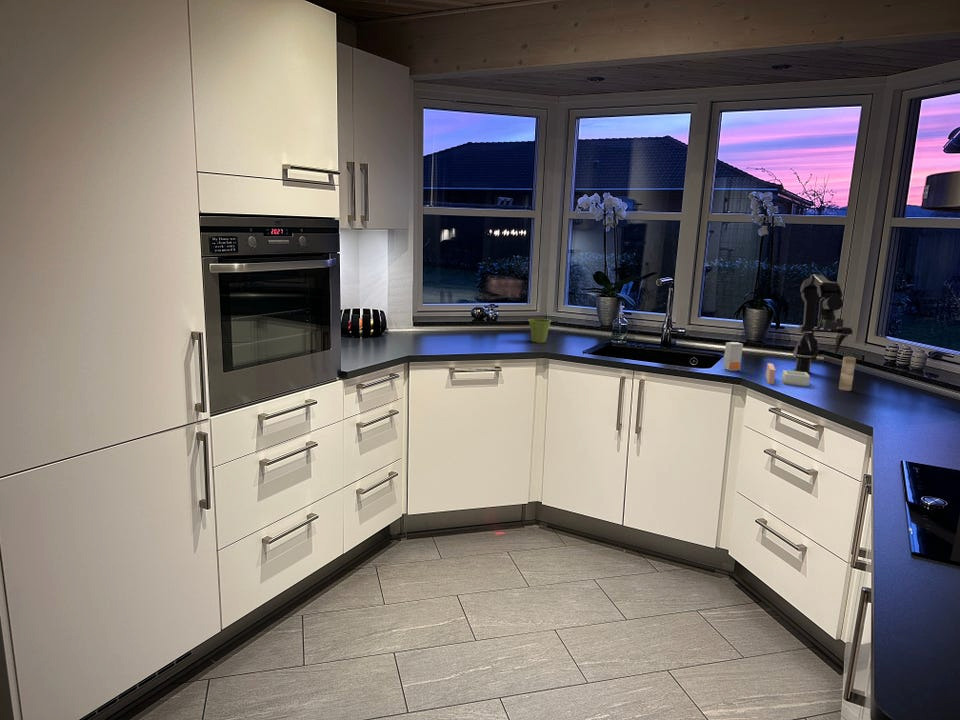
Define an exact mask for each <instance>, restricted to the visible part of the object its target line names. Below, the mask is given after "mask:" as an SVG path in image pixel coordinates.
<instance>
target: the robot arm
mask: <svg viewBox="0 0 960 720" xmlns="http://www.w3.org/2000/svg"><path fill="white" fill-rule="evenodd" d="M799 290H800V293H801V294H800V295H801V296H800V297H801V299H802V301H803V303H804V310H803V321H802V322H803V323H802V324H801V325H800V326H799V327H798V333H801V336H800V338H799V339H798V340H797V344H796V345H795V348H794V349H793V351H792V357H793V358H794V359H796V362H795V363H796V364H795V368H793V371H797V372H807V373H808V374H809V375H810V374H811V375H812V371H811V370H810V369H811V365H812V360H816V361H817V357H818V354H819V351H820V349H819V346H818V339H816V338H815V336H814V334H815V333H827V334H829V333H830V334H837V335H836V336H835V344H834V353H838V351H839V349H840V346H841V344H842V343H843V341H844V340H845V339H846V338H848V337H850V336H853V328H852V327H845V326H843V325H844V318H840V317H838V318H836V314H835V312H836V311H838V310H840V309H842V307H843V305H844V300H843V298H842V297H843V292H842V291H843V290H842V288H841V286H840V284H839V283H838V282H836V281H830V280H829V279H827V277H826V276H825V274H819V273H816V274H815V273H813V274H811V275H810V276H809V277H808V278H806V279H804V280H803V282H802V283H801V285H800V289H799ZM820 298H821V299H820ZM818 301H819V302H818ZM817 302H818V303H819V304H818V315H817V319H818V320H817V326H815V325H816V324H815V322H816V312H817V311H816V310H817Z"/></svg>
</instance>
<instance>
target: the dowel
mask: <svg viewBox="0 0 960 720" xmlns="http://www.w3.org/2000/svg"><path fill="white" fill-rule="evenodd" d="M856 362H857V358H856V357H854V356H843V358H842V364H841V365H842V366H841V370H840V377H839V382H838V383H839V385H838V389H839V390H841V391H847V392H849V391H852V387H853V381H854V375H855V367H856Z"/></svg>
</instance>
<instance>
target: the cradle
mask: <svg viewBox="0 0 960 720" xmlns="http://www.w3.org/2000/svg"><path fill="white" fill-rule="evenodd" d="M781 377H782V378H781V380H782V383H783V384H784V385H790V386H798V387H800V386H801V387H809V386H810V380H811V379H810V378H811V377H810V374H809V373H807V372H797V371H794V370H788V369H787V370H786V369H785V370H784V369H782V375H781Z"/></svg>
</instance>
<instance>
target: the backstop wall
mask: <svg viewBox="0 0 960 720" xmlns="http://www.w3.org/2000/svg"><path fill="white" fill-rule="evenodd" d="M766 366H767V367H766V373H765V379H766V382H767V384H768V385H774V384H775V379H776V373H777V372H776V371H777V370H776V368H775V365H774V363H769V362H767V364H766Z"/></svg>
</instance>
